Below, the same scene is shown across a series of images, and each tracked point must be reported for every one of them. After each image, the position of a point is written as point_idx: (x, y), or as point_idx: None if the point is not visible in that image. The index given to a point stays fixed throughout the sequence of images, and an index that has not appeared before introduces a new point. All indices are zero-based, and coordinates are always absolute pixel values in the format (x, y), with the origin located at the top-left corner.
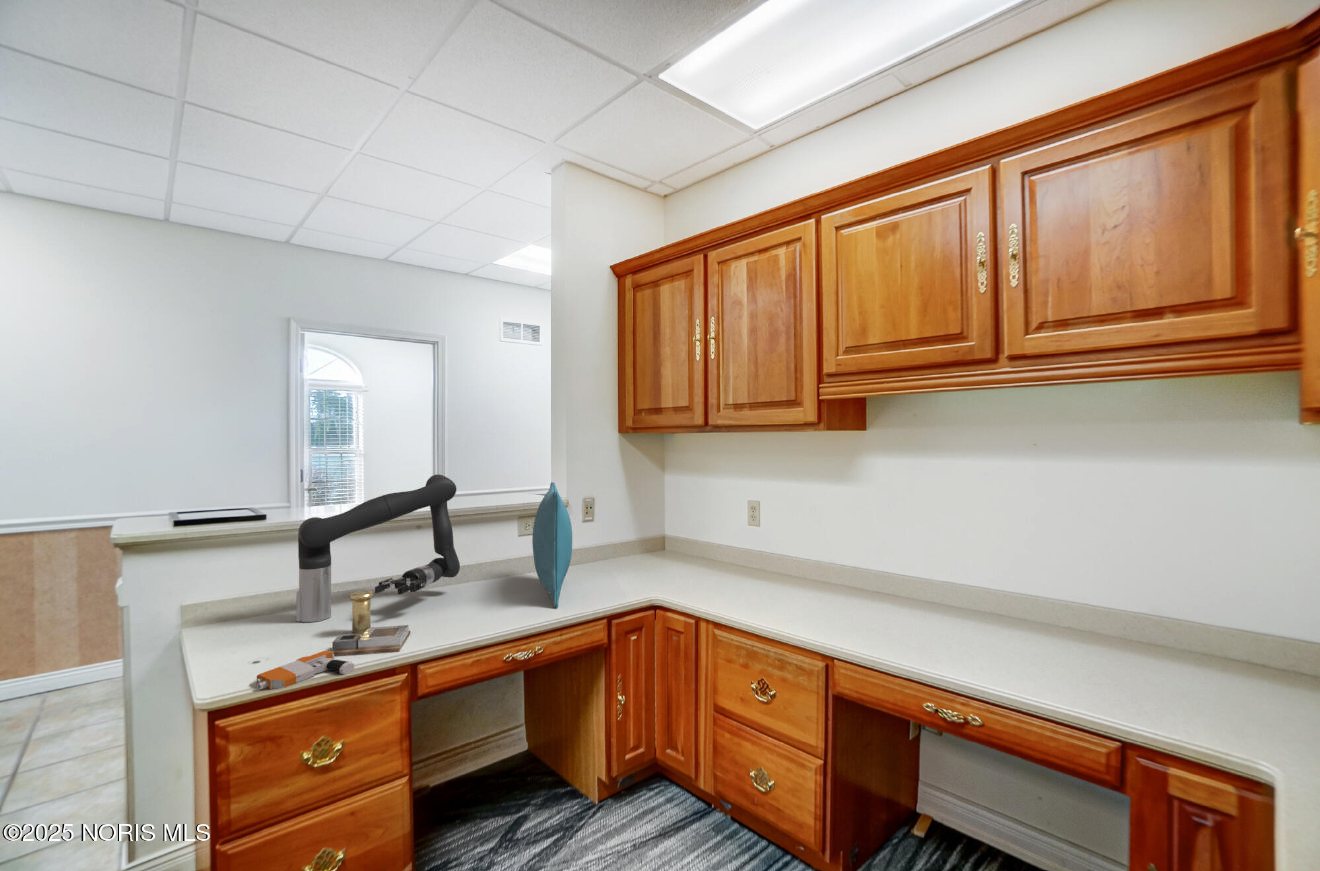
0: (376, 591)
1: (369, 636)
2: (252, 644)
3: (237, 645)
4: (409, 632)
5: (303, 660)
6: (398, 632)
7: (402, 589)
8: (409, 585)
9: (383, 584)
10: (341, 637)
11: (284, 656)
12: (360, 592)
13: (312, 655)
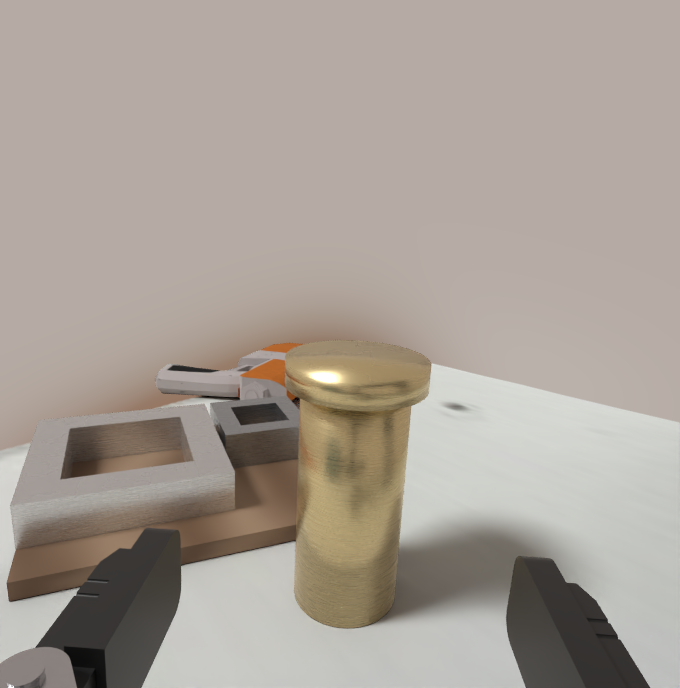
0: (513, 603)
1: (183, 430)
2: (642, 464)
3: (674, 457)
4: (11, 573)
5: (284, 361)
6: (56, 445)
7: (112, 562)
8: (2, 680)
9: (572, 667)
10: (284, 413)
11: (421, 424)
12: (386, 366)
13: (283, 370)
